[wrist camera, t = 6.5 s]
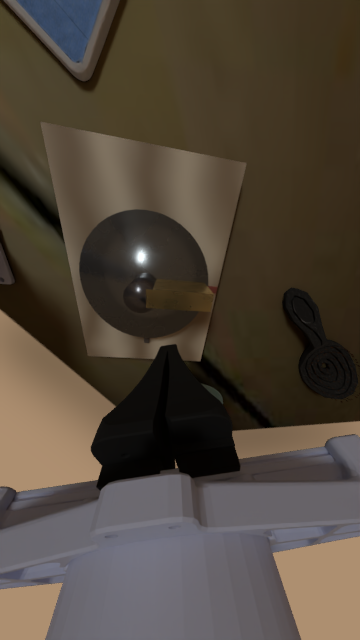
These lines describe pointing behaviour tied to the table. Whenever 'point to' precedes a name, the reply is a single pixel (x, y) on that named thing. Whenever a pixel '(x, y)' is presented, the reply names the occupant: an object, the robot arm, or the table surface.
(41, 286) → the table surface
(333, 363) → the hairbrush
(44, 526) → the robot arm
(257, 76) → the table surface
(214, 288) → the dial board
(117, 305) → the dial
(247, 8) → the table surface
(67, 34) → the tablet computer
